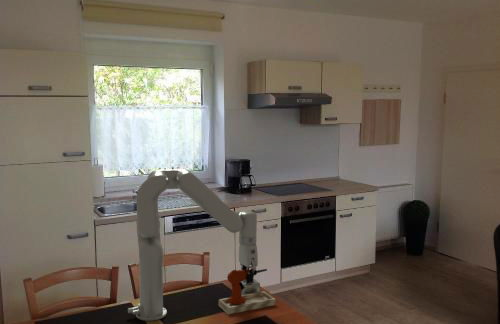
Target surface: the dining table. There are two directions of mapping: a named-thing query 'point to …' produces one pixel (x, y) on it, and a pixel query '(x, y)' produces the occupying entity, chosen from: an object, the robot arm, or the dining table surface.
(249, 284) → the socket block
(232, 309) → the marbled rectangular tray
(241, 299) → the toy drill
